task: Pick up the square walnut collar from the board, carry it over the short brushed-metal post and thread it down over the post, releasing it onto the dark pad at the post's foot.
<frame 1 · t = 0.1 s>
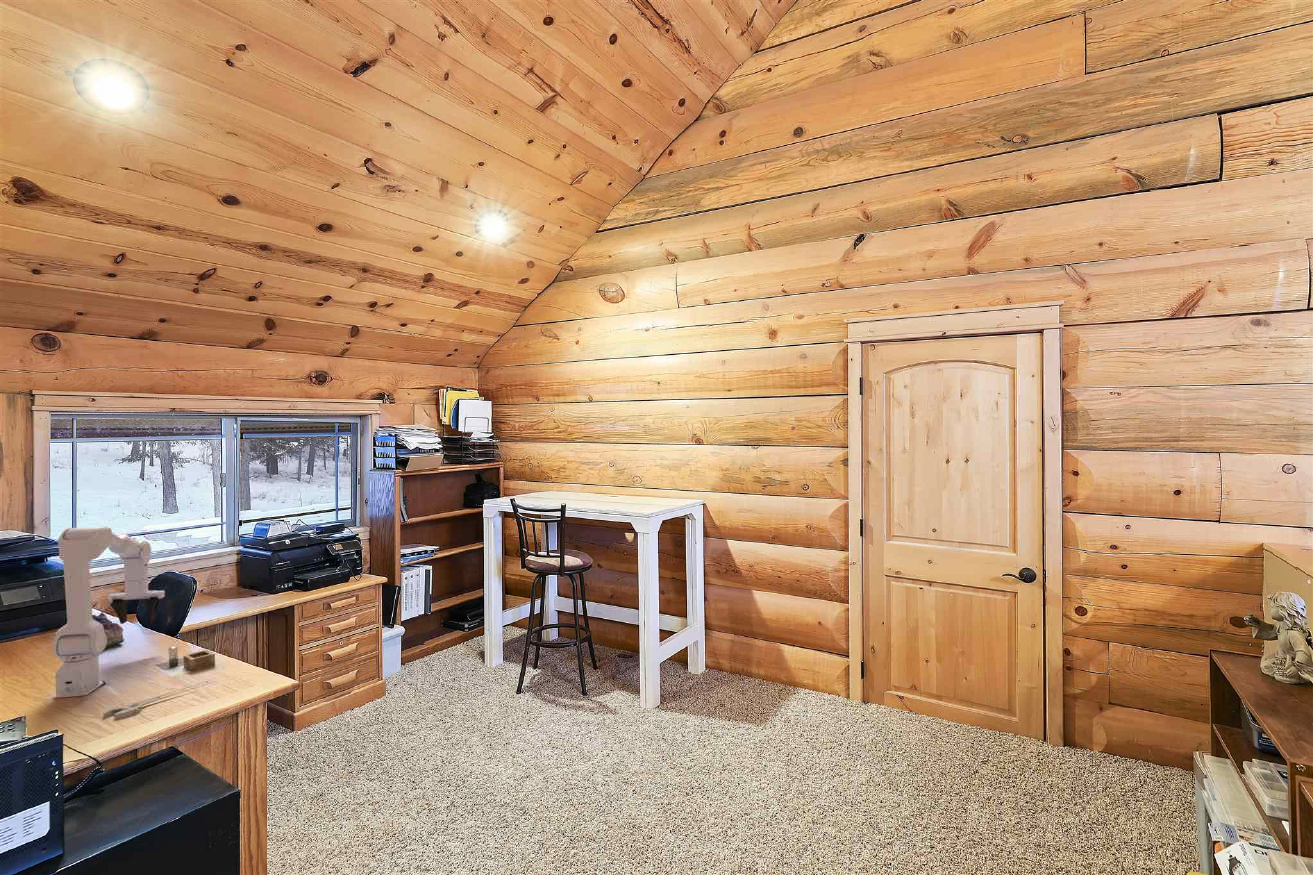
hand: (137, 621, 205), 10 cm above the table, fingers open, 7 cm apart
board: (186, 668, 193), on the table
adjustable wrench: (165, 702, 171), on the table
post: (173, 667, 194), resting on board
collar: (199, 665, 192), point 1 cm above the table, touching board
geode: (96, 645, 214), on the table
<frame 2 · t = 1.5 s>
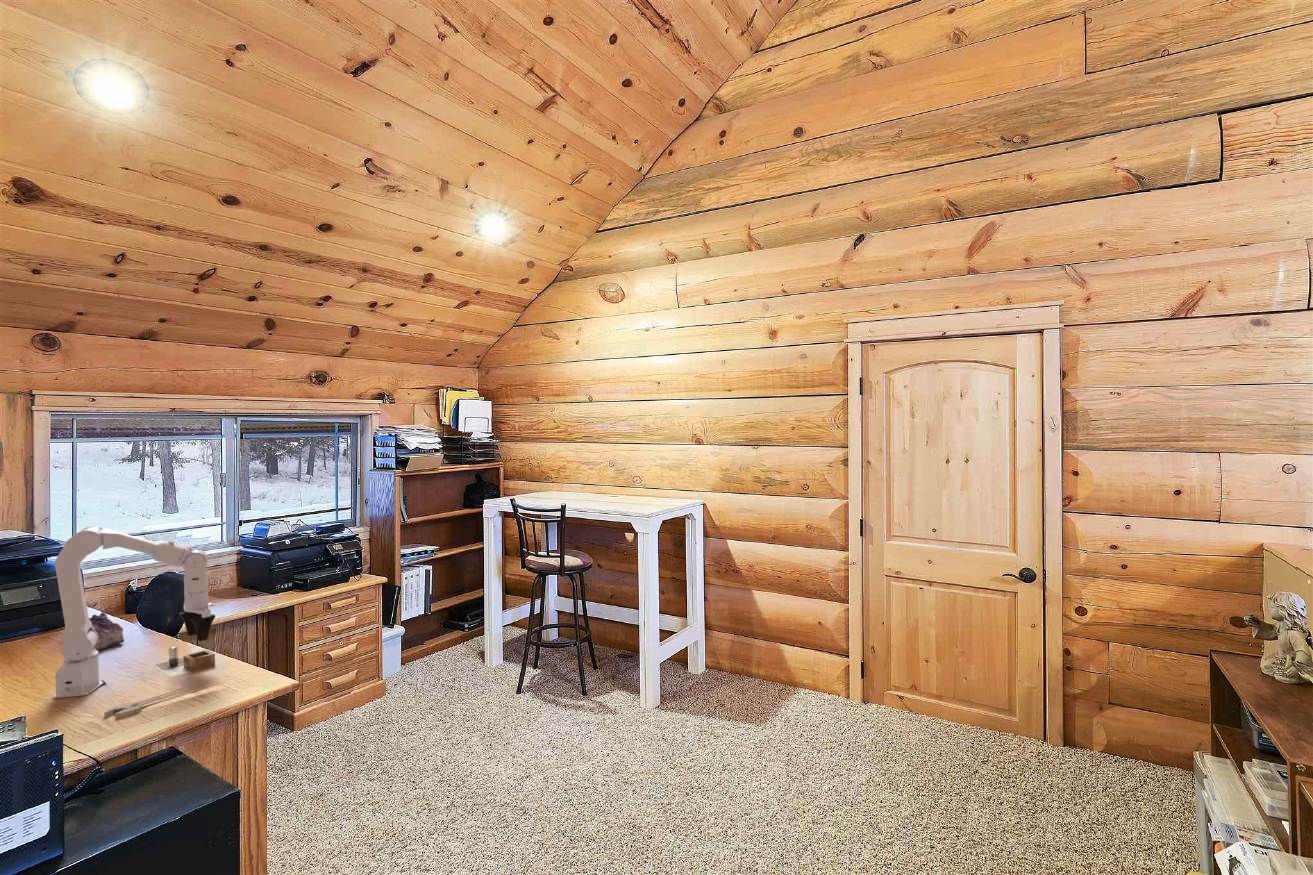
hand: (197, 637, 192), 9 cm above the table, fingers open, 7 cm apart
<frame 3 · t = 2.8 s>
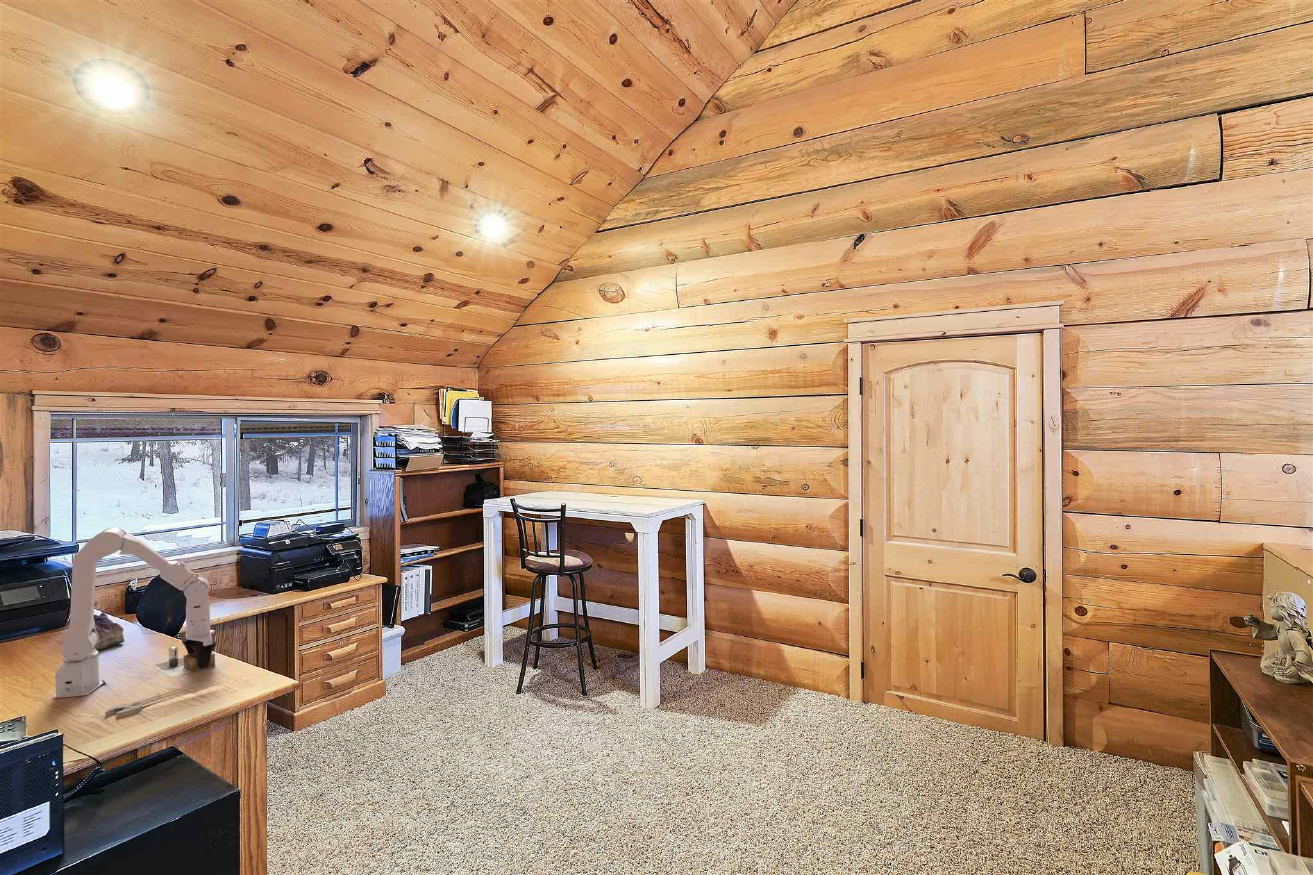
hand: (199, 664, 192), 1 cm above the table, fingers closed on collar, 6 cm apart
collar: (199, 665, 192), point 1 cm above the table, touching board, gripper
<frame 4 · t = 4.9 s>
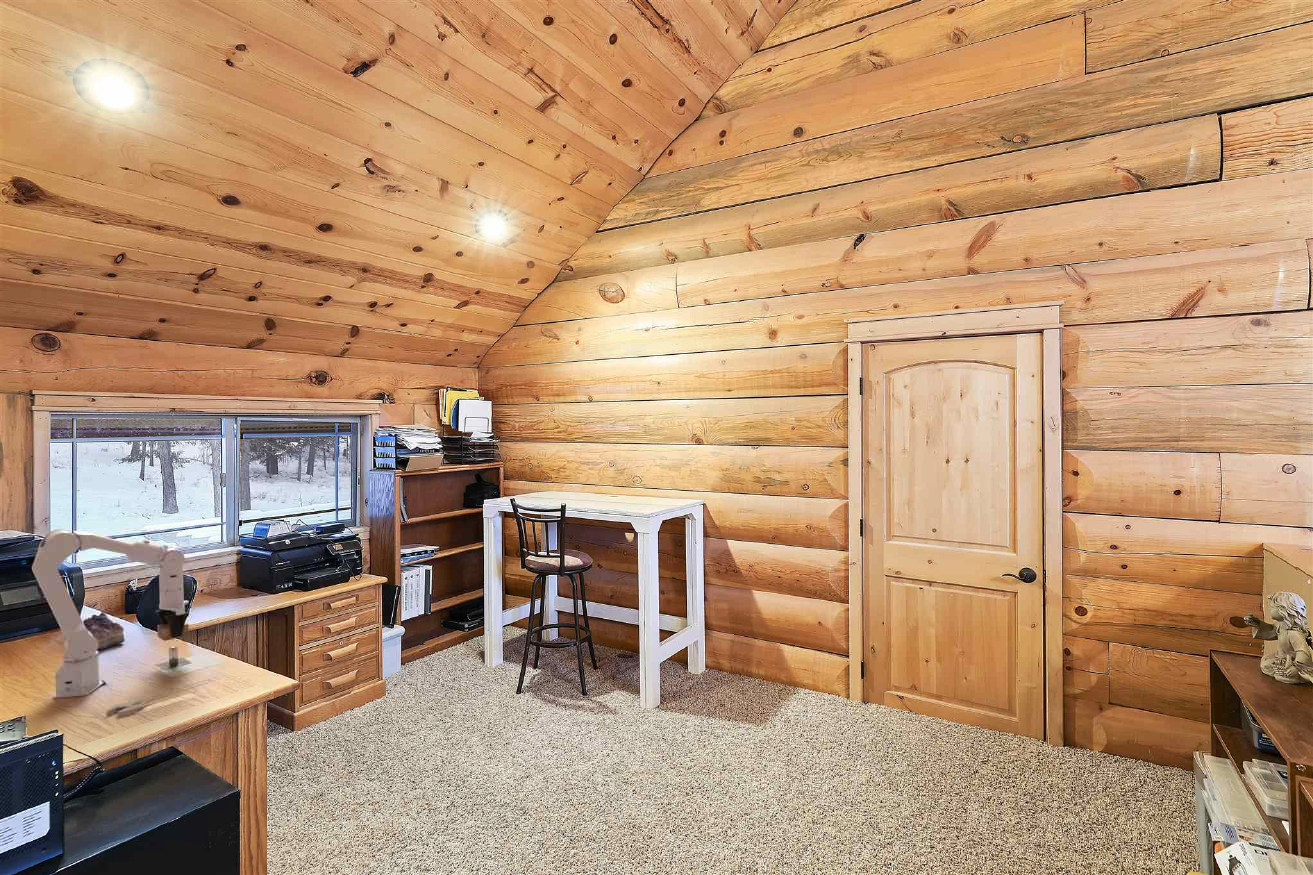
hand: (172, 634, 193), 10 cm above the table, fingers closed on collar, 6 cm apart
collar: (173, 636, 194), point 9 cm above the table, touching gripper
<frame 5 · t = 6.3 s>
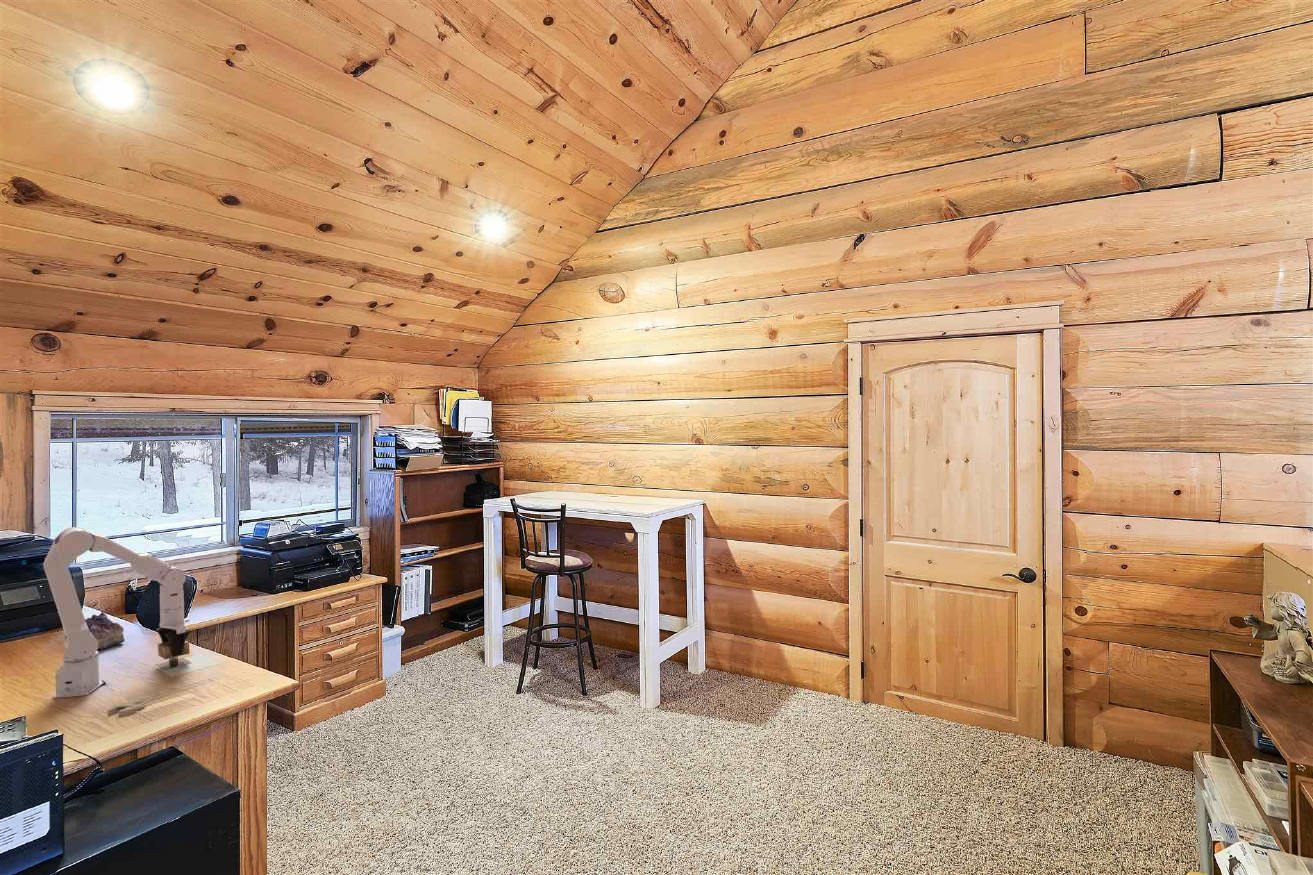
hand: (173, 652, 194), 4 cm above the table, fingers closed on collar, 6 cm apart
collar: (173, 654, 194), point 4 cm above the table, touching gripper
when the fingers open (4 cm above the table, at t = 7.2 s): collar drops 3 cm, resting on post.
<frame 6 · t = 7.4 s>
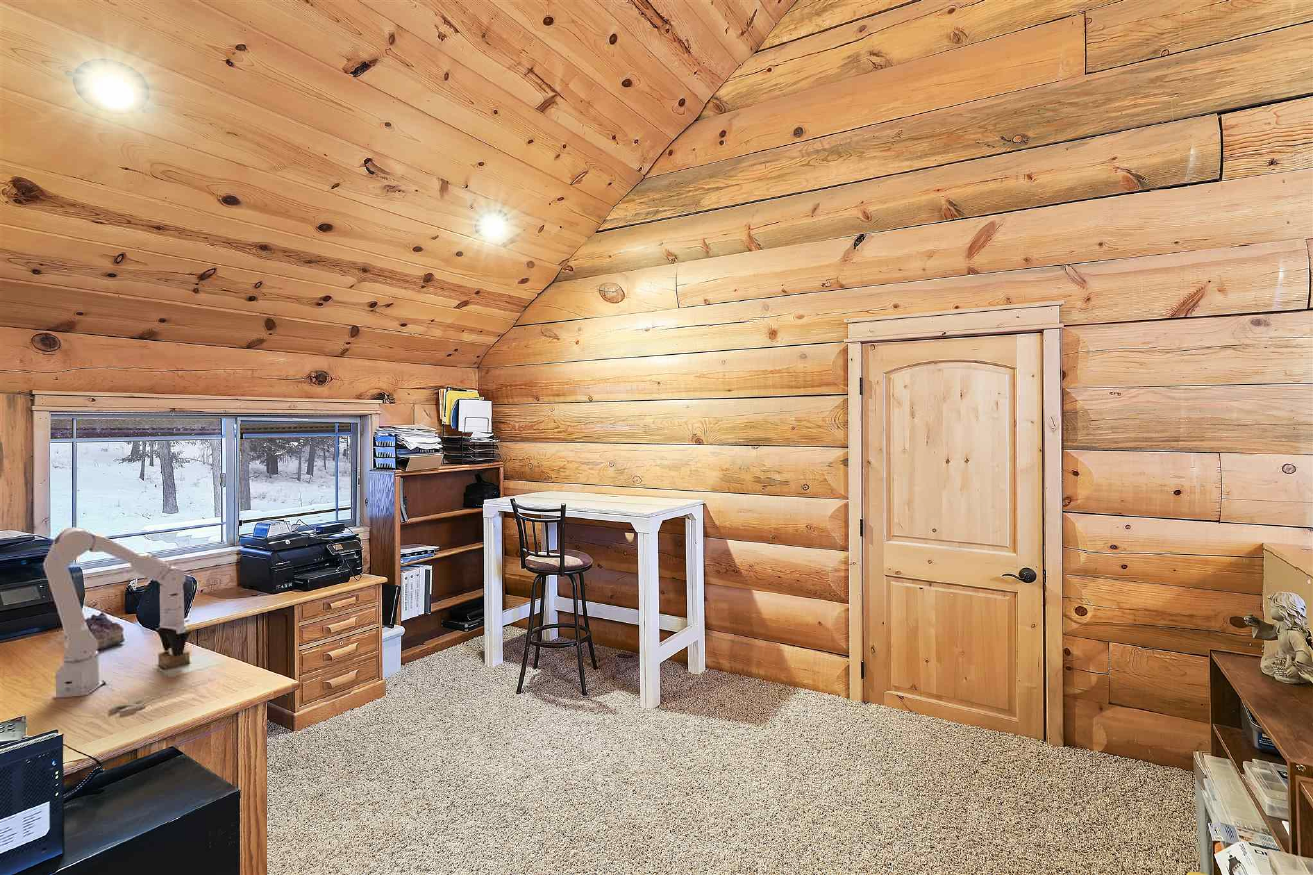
hand: (173, 652, 194), 4 cm above the table, fingers open, 7 cm apart
collar: (174, 663, 194), point 1 cm above the table, touching post
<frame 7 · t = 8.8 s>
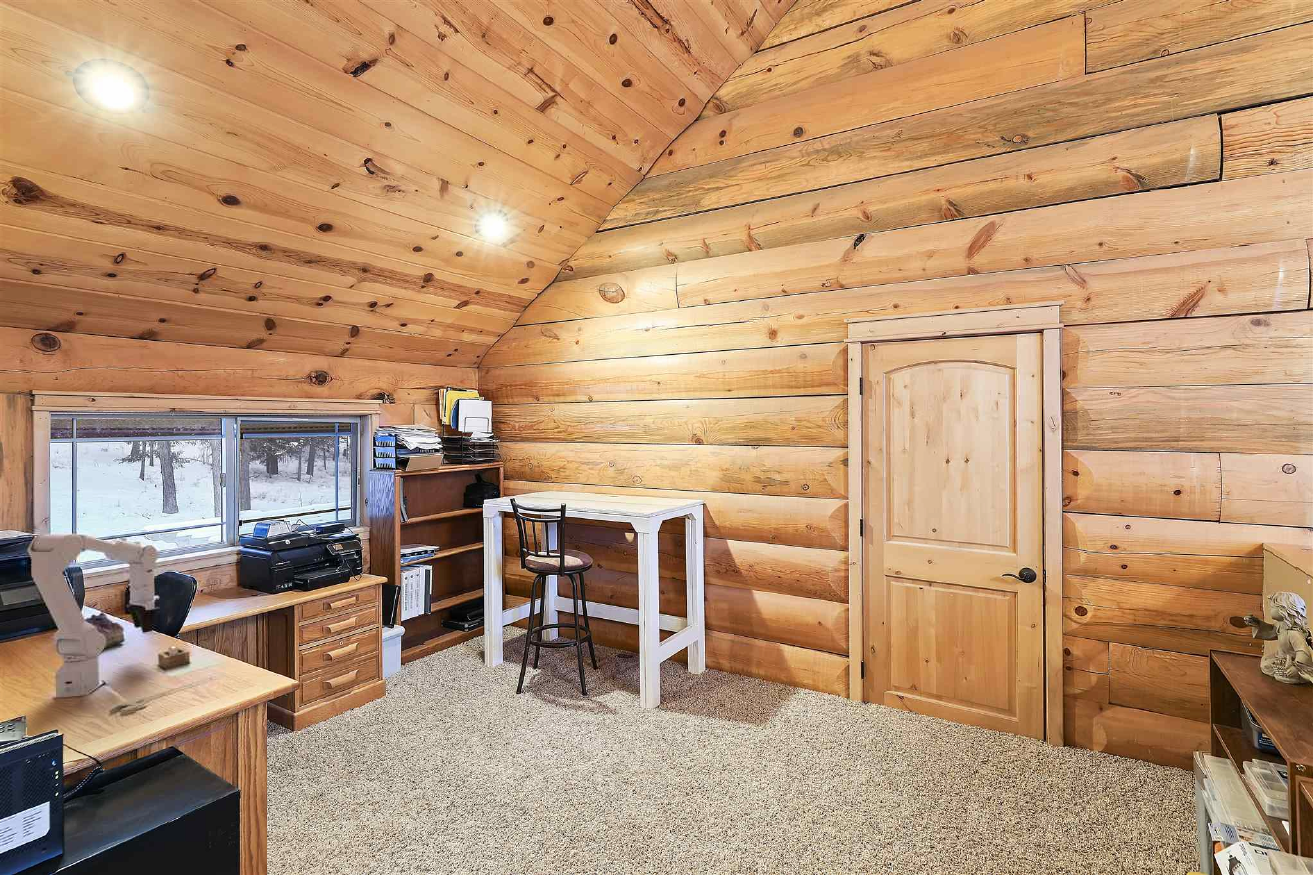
hand: (143, 629, 197), 10 cm above the table, fingers open, 7 cm apart
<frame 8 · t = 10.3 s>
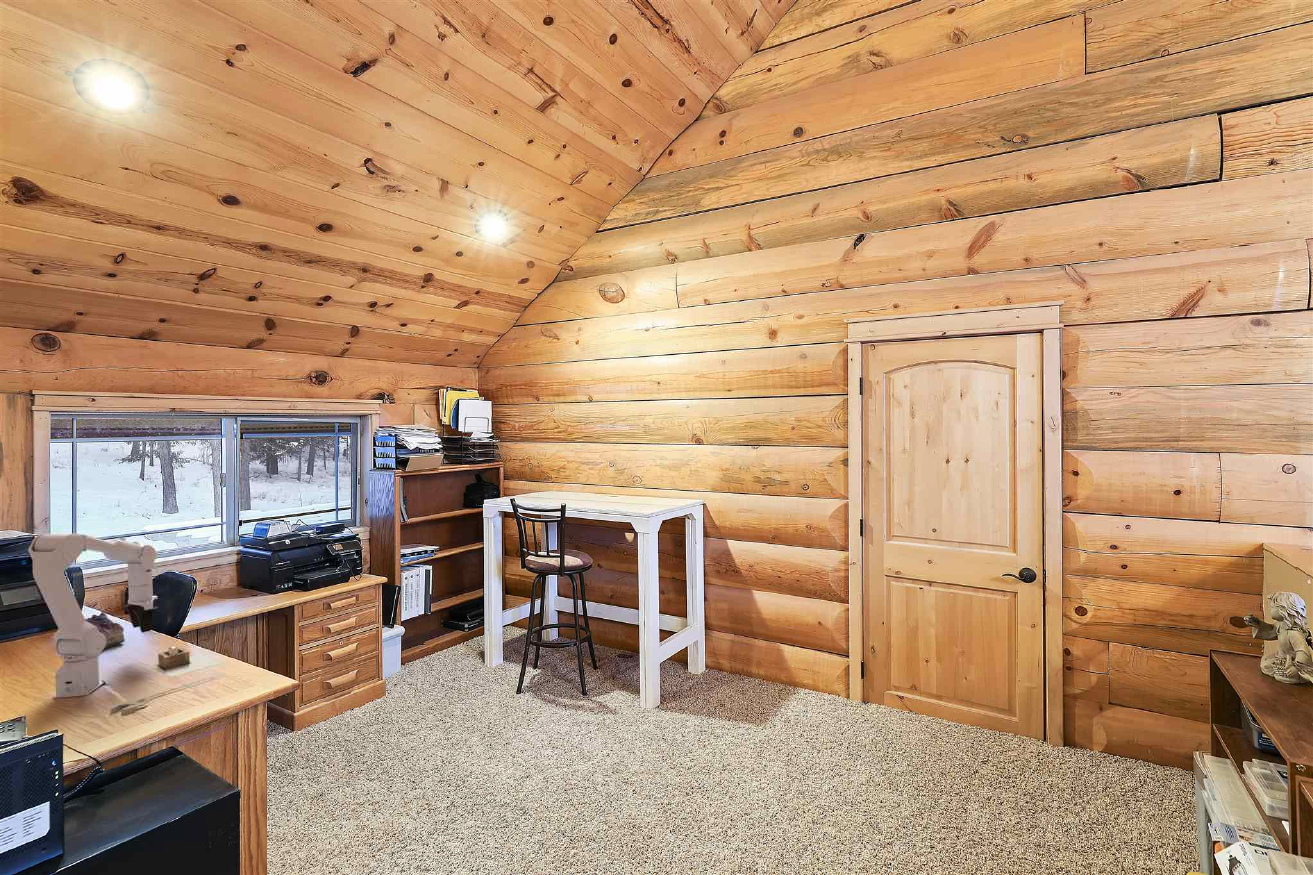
hand: (141, 629, 197), 10 cm above the table, fingers open, 7 cm apart
at the end: collar 0.1 cm off-centre on the post, point 1.1 cm above the post's base; collar tilted 0°; the gripper is holding nothing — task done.
